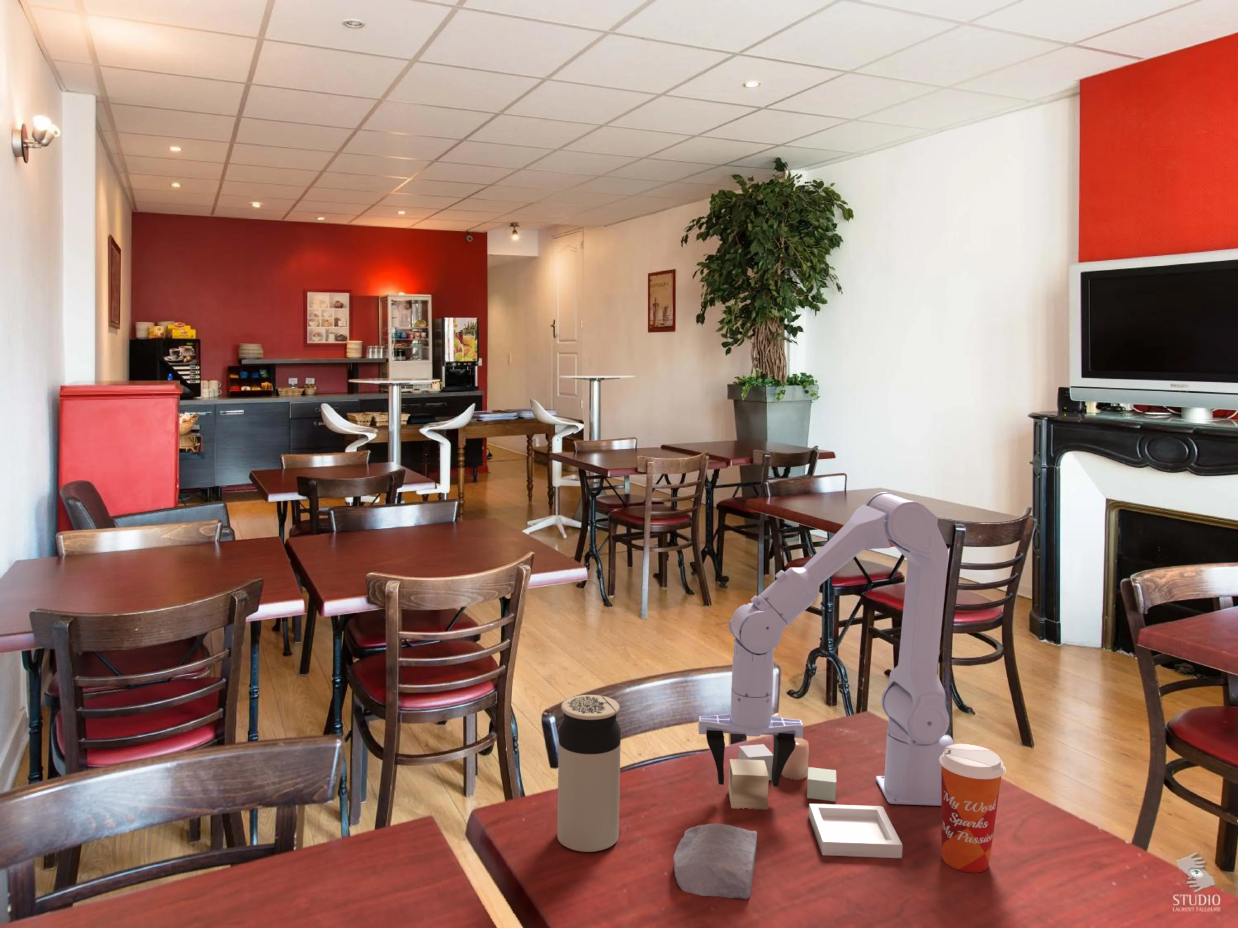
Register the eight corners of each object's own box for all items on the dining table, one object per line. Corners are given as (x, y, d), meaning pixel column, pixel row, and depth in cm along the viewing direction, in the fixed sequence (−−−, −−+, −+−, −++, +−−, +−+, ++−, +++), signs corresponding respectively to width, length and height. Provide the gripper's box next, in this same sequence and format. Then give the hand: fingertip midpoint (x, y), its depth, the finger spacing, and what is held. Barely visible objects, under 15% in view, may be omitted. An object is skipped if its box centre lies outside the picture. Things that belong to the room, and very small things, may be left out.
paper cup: (932, 869, 113) (939, 761, 111) (933, 839, 120) (940, 737, 119) (1000, 883, 110) (1008, 773, 109) (997, 851, 118) (1005, 747, 116)
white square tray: (881, 818, 125) (882, 806, 125) (901, 857, 116) (902, 844, 115) (808, 815, 126) (809, 803, 126) (822, 854, 116) (823, 841, 116)
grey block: (762, 768, 140) (763, 743, 140) (772, 780, 136) (773, 755, 136) (737, 770, 139) (739, 745, 139) (747, 782, 136) (748, 757, 135)
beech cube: (762, 792, 132) (764, 760, 132) (767, 809, 127) (768, 775, 127) (728, 791, 133) (729, 758, 132) (731, 808, 128) (732, 774, 127)
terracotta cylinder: (804, 768, 141) (806, 737, 140) (809, 780, 137) (811, 748, 136) (778, 767, 141) (780, 736, 140) (782, 779, 137) (784, 747, 136)
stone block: (673, 907, 107) (757, 902, 105) (666, 868, 107) (750, 862, 105) (685, 858, 119) (762, 852, 117) (679, 822, 119) (756, 816, 117)
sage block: (835, 789, 134) (836, 770, 134) (835, 802, 130) (836, 782, 130) (807, 786, 135) (808, 766, 135) (806, 798, 131) (807, 778, 131)
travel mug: (561, 856, 114) (564, 718, 112) (553, 824, 122) (555, 695, 120) (624, 851, 116) (627, 714, 114) (611, 820, 123) (614, 691, 121)
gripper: (701, 698, 124) (698, 793, 126) (808, 702, 124) (803, 797, 126) (699, 680, 131) (695, 770, 133) (800, 684, 131) (795, 774, 133)
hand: (747, 782), depth 130 cm, fingers open, 7 cm apart
